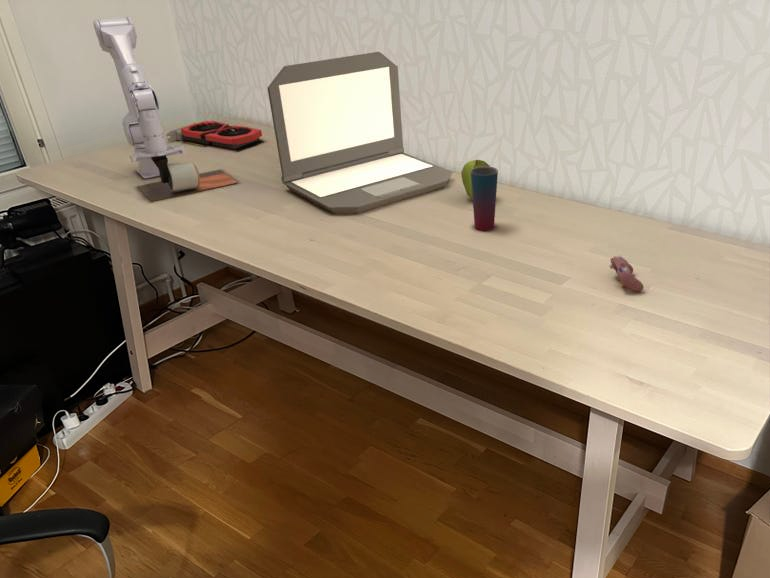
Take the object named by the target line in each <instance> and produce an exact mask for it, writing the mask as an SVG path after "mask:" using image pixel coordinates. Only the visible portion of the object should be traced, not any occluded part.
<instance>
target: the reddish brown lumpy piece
mask: <svg viewBox="0 0 770 578" xmlns="http://www.w3.org/2000/svg"><path fill="white" fill-rule="evenodd" d="M609 268H610V270H614V271H615V273H616V275H617V277H618V280H619V285H620V286H622V287H623V288H627V289H629V290H631V291H633V292H636V293H641V292H642V291H644V283H642V282H641V281H640V280H639V279H638V278H636V277H635V276H634V275H633V273H634V267H633V266H632V265H631V264H630V263H629V262H628V260H626V259H625V258H623V256H621V255H618V256H616V255H615V256H613V257H611V258H610V264H609Z"/></svg>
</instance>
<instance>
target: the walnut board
mask: <svg viewBox="0 0 770 578" xmlns="http://www.w3.org/2000/svg"><path fill="white" fill-rule="evenodd" d="M199 176H200V185H199V186H198V187H196V188H193V189H186V190H180V191H171V190H170V189H169V187H168V184H167V183H162V181H157V182H152V183H148V184H147V183H146V184H143V185H138V186H137V188H138V189H139V191H141V192H142V193H143V195H144V196H145V197H146V198H147V199H148V200H149V201H150V203H153V202H156V201H163V200H166V199H172V198H176V197H180V196H186V195H190V194H194V193H200V192H204V191H208V190H209V191H210V190H214V189H218V188H223V187H228V186H232V185H237V184H238V182H237V181H236V180H235V179H233V178H232V177H231V176H230V175H228V174H227V173H225V172H224V171H223V170H221V169H215V170H212V171H207V172H202V173H199Z"/></svg>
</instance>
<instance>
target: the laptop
mask: <svg viewBox="0 0 770 578" xmlns="http://www.w3.org/2000/svg"><path fill="white" fill-rule="evenodd" d="M267 93H268V100H269V105H270V112H271V118H272V123H273V130H274V135H275V136H274V137H275V141H276V148H277V153H278V159H279V164H280V165H279V166H280V171H281V182H282V184H283V185H284V186H286V187H287V188H288V189H289V190H290V191H292V192H294V193H295V194H297V195H299V196H300V197H303V198H305V199H306V200H308V201H310V202H312V203H313V204H317V205H318V206H319V207H322V208H323V209H325V210H327V211H328V212H331V213H333V214H335V215H338V214H339V215H341V214H342V215H343V214H345V215H346V214H351V215H352V214H356V215H357V214H359V213H362V212H365V211H366V212H367V211H370V210H372V209H375V208H380V207H382V206H385V205H389V204H392V203H396V202H399V201H402V200H406V199H409V198H414V197H416V196H419V195H422V194H425V193H429V192H432V191H435V190H436V191H437V190H440V189H442V188H445V187H446V186H447V183H448V182H449V180H450V179H451V177H452V175H453V173H454V171H453V170H449V169H447V168H445V167H441V166H439V165H436V164H434V163H432V162H428V161H426V160H425V159H421V158H418V157H416V156H413V155H410V154H408V153H405V147H404V140H403V125H402V124H403V123H402V110H401V109H402V108H401V95H400V93H401V92H400V80H399V67H398V65H397V64H395V63H394V62H393V61H392V60H390V59H389V58H388V57H387V56H385V54H383V53H382V52H380V51H374V52H367V53H361V54H354V55H348V56H340V57H334V58H327V59H321V60H315V61H309V62H303V63H302V62H301V63H295V64H290V65H284V66H283V67H282V68H281V70H280V71H278V73H277V74H276V76H275V77H274V78H273V80H272V81H271V83H270V84H269V85H268V86H267Z"/></svg>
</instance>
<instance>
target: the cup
mask: <svg viewBox="0 0 770 578" xmlns="http://www.w3.org/2000/svg"><path fill="white" fill-rule="evenodd" d="M489 166H490V165H489ZM489 166H480V167H475V168H473V169H471V183H472V197H473V200H472V210H473V221H474V223H473V224H474V229H475V230H477V231H481V232H489V231H492V230H494V228H495V219H496V205H497V204H496V203H497V191H498V176H499V170H498V168H496V167H494V166H490V167H489Z"/></svg>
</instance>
